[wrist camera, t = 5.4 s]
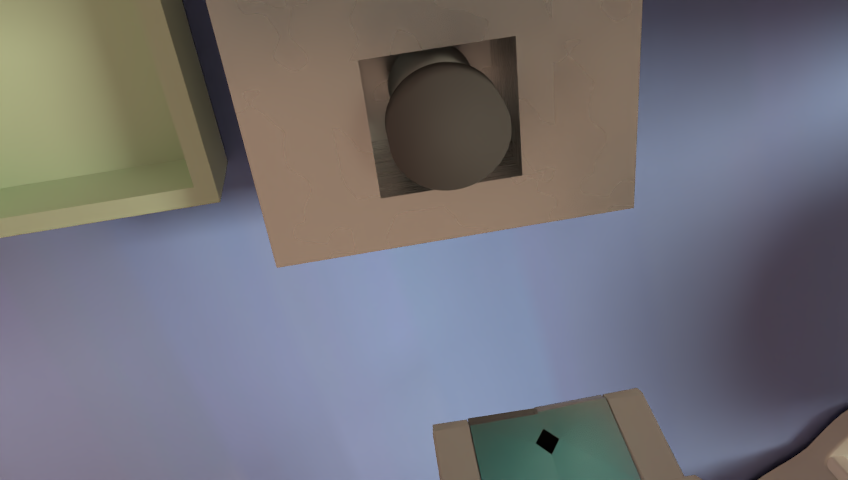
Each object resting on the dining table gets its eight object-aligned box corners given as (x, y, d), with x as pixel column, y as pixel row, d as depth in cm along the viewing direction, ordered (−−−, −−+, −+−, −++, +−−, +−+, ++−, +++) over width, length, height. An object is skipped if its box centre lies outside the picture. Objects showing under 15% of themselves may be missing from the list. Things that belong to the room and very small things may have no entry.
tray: (99, -294, 18) (70, -299, 16) (227, 161, 25) (220, 201, 22) (-254, -248, 18) (-331, -247, 15) (-27, 202, 24) (-60, 247, 22)
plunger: (479, 22, 21) (508, 66, 18) (486, 123, 22) (514, 180, 20) (369, 39, 21) (380, 87, 18) (384, 140, 22) (397, 199, 19)
